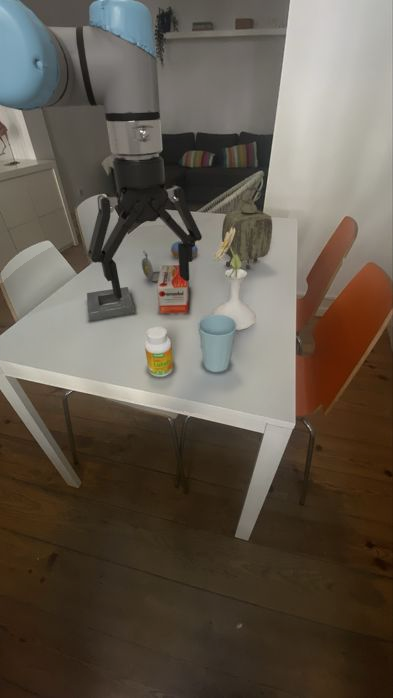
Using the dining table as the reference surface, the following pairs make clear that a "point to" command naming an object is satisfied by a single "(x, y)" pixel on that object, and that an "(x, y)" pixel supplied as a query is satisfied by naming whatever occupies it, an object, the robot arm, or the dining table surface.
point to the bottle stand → (111, 309)
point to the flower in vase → (234, 289)
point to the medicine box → (172, 290)
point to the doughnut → (175, 252)
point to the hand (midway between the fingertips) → (152, 286)
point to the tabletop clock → (248, 231)
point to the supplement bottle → (158, 352)
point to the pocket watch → (149, 270)
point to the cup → (216, 341)
